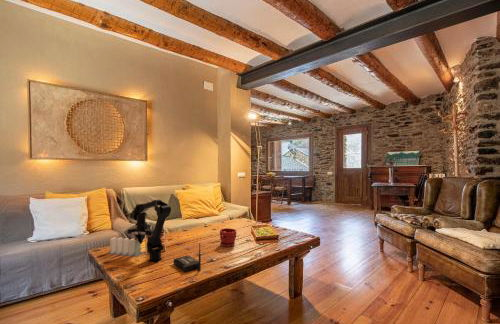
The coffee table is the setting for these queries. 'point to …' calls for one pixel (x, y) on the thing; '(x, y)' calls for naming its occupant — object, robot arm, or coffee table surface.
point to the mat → (124, 254)
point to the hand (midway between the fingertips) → (140, 243)
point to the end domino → (113, 244)
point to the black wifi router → (188, 263)
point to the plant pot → (227, 237)
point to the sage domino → (137, 247)
